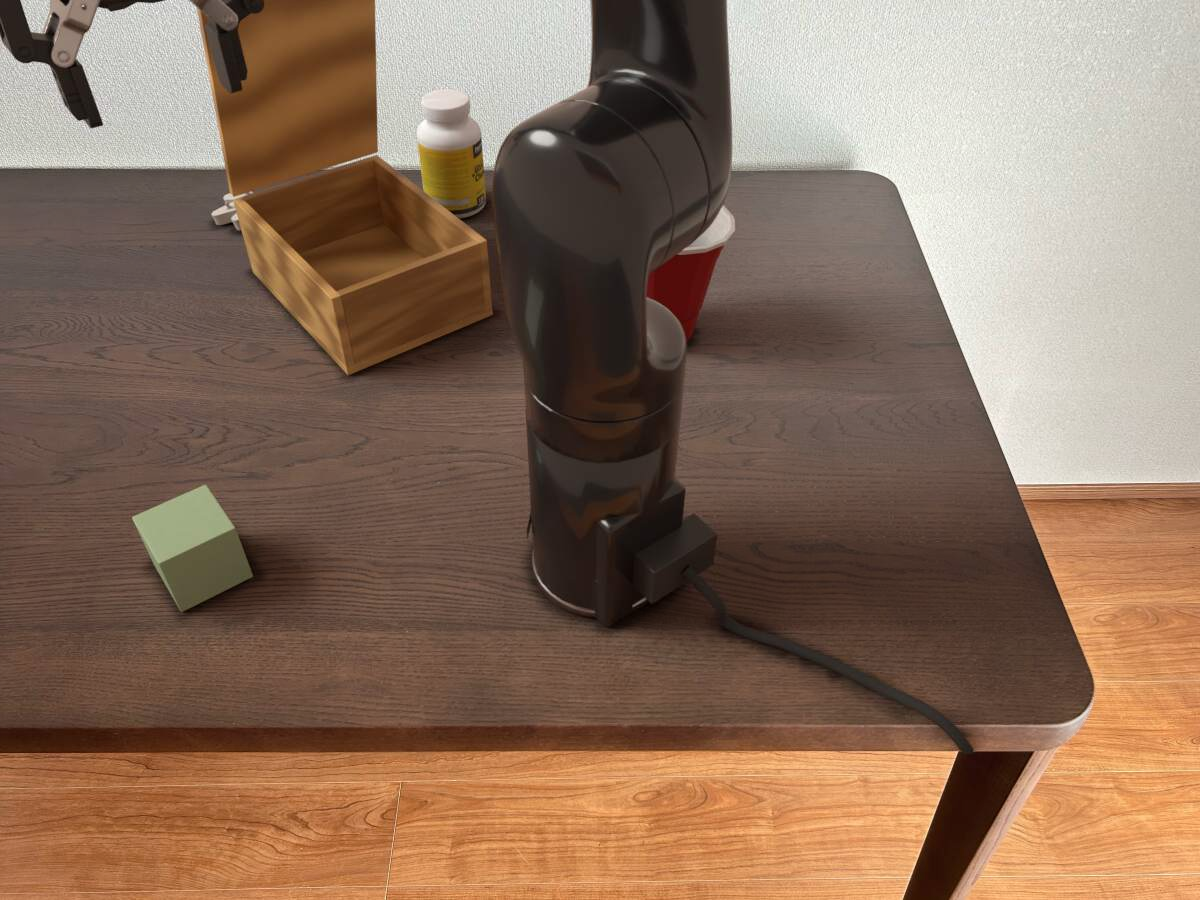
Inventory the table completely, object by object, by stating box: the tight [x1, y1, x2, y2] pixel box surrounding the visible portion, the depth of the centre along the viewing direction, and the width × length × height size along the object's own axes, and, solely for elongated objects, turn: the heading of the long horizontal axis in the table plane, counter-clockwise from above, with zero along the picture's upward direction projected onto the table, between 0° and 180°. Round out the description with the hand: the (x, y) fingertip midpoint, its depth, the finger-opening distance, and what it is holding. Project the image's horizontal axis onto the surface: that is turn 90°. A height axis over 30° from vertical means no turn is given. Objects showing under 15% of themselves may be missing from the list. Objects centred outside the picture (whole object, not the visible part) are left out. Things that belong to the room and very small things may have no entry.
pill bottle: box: [416, 89, 487, 219], centre depth 99 cm, size 6×6×12 cm
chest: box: [233, 154, 494, 376], centre depth 88 cm, size 20×15×8 cm
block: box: [131, 484, 254, 613], centre depth 65 cm, size 5×5×5 cm
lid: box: [196, 0, 379, 197], centre depth 82 cm, size 20×15×1 cm
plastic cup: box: [647, 204, 736, 342], centre depth 83 cm, size 11×11×12 cm
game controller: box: [211, 191, 254, 231], centre depth 101 cm, size 6×12×3 cm, turn 134°
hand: (165, 105), depth 60 cm, fingers open, 8 cm apart
